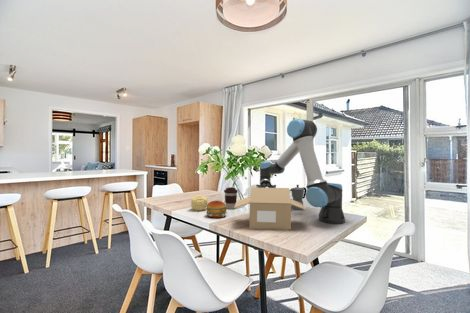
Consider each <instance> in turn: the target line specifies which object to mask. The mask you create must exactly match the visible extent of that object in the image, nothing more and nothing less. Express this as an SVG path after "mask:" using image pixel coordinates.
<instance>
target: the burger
mask: <svg viewBox="0 0 470 313" xmlns="http://www.w3.org/2000/svg"><path fill="white" fill-rule="evenodd" d="M205 211H206V215H207V217H208V218H215V219H216V218H223V217H225V216H226V214H227V213H228V211H227V207H226V203H225V202H224V201H222V200H212V201H209V202H207V207H206V209H205Z"/></svg>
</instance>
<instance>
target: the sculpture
mask: <svg viewBox="0 0 470 313" xmlns="http://www.w3.org/2000/svg"><path fill="white" fill-rule="evenodd" d="M207 204H208V197H207V196H204V195H201V194H198V195H194V196H193V197H191V202H190V206H191V209H192V210H193V211H195V212H202V211H206V208H207Z"/></svg>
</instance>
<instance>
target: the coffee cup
mask: <svg viewBox="0 0 470 313" xmlns="http://www.w3.org/2000/svg"><path fill="white" fill-rule="evenodd" d="M223 192H224V203H225V205H226V207H227V208H226V210H235V209H234V207H235V204H236V201H237V198H238V196H237V193H238V190H237V189H236V188H235V187H231V186H230V187H226V188H225V189H224V190H223Z"/></svg>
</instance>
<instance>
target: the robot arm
mask: <svg viewBox="0 0 470 313" xmlns="http://www.w3.org/2000/svg"><path fill="white" fill-rule="evenodd" d="M286 127H287V128H286V133H287V135H288V136H289V137H290V138H291V139H292V142H291V144H290V145H289V146H288V147H287V148H286V150H285V151H284V152H283V153H282V154H281V156H279V158H278V159H277V160H276V161H275V162H274V163H271V161H268V160H267V161H261V162H259V163H260V164H259V184H256V185H255V186H256V187H255V188H277V184H272V182H271V176H272V175H275V174H276V175H277V174H278V175H280V174H283V173H284V172H285V170H286V166H288V164H289V163H290V162H291V161H292V160H293V159H294V158H295V157H296V156H297V155H298V154H299V156H300V159H301V162H302V165H303V169H304V172H305V176H306V179H307V184H306V189H307V191H306V195H305V198H306V201H307V203H308V204H309V205H310V206H312V207H315V208H320V210H319V214H318V220H319V221H321V222H323V223H328V224H334V225H335V224H345V223H346V216H345V212H344V210H343V185H342V184H341V183H335V182H334V183H333V182H328V181H327V180H325V179H324V177H323V175H322V171H321V168H320V165H319V162H318V159H317V154H316V152H315V149H314V145H313V142H312V141H313V139H315V137H316V135H317V133H318V126H317V125H316V123H315V122H313V121H312V120H309V119H308V120H307V119H302V118H293V119H292V120H290V121H289V122H288V125H287V126H286Z"/></svg>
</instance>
